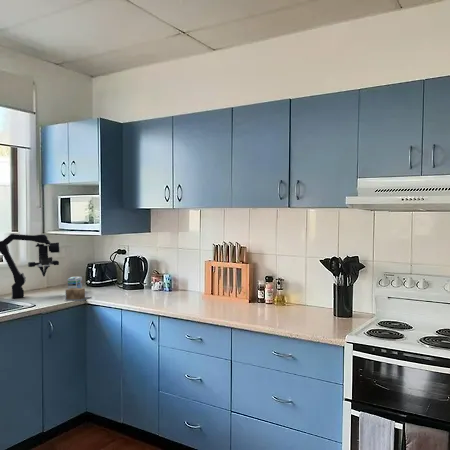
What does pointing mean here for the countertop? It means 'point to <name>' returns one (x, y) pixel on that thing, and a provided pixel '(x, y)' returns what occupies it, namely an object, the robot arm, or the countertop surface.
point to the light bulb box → (75, 282)
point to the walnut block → (75, 293)
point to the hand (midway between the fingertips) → (43, 276)
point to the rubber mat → (78, 299)
